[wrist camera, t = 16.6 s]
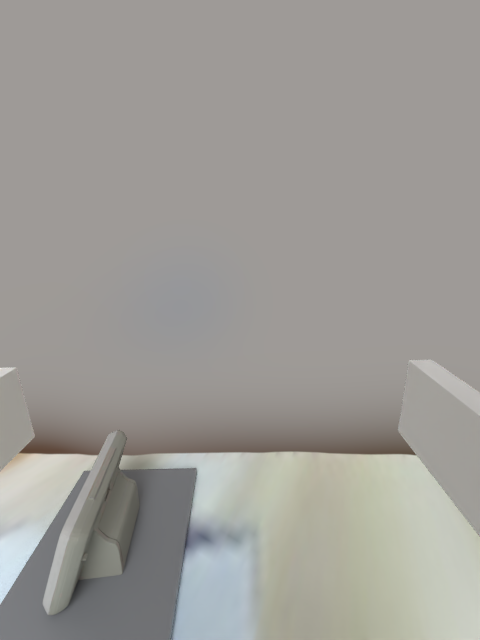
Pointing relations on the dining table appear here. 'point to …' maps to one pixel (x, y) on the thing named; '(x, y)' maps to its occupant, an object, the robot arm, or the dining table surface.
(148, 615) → the docking pad
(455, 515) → the dining table surface
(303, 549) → the dining table surface
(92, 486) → the digital clock
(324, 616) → the dining table surface
